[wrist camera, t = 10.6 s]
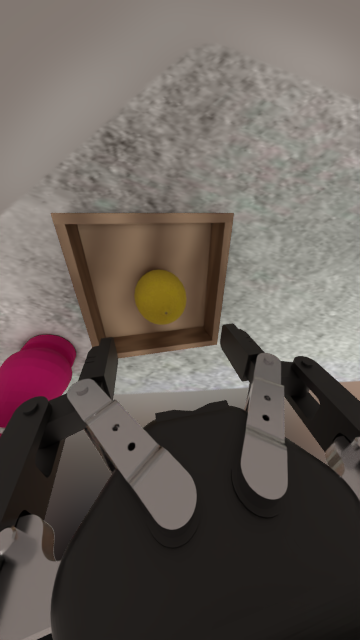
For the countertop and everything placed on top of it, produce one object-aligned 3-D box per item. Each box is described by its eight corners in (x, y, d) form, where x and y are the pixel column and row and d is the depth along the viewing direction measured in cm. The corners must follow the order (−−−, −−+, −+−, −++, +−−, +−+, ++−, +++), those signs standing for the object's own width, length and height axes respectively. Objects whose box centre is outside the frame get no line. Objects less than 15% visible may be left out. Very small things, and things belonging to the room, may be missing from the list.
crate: (216, 213, 21) (234, 213, 18) (206, 327, 29) (216, 344, 26) (67, 213, 18) (50, 213, 15) (102, 340, 27) (96, 361, 23)
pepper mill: (26, 323, 23) (-270, 624, 6) (86, 340, 26) (-2, 574, 9) (16, 364, 26) (-214, 657, 9) (72, 375, 28) (-18, 609, 12)
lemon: (125, 273, 22) (123, 299, 15) (168, 255, 22) (185, 273, 15) (145, 310, 25) (150, 346, 18) (182, 294, 25) (202, 324, 18)
